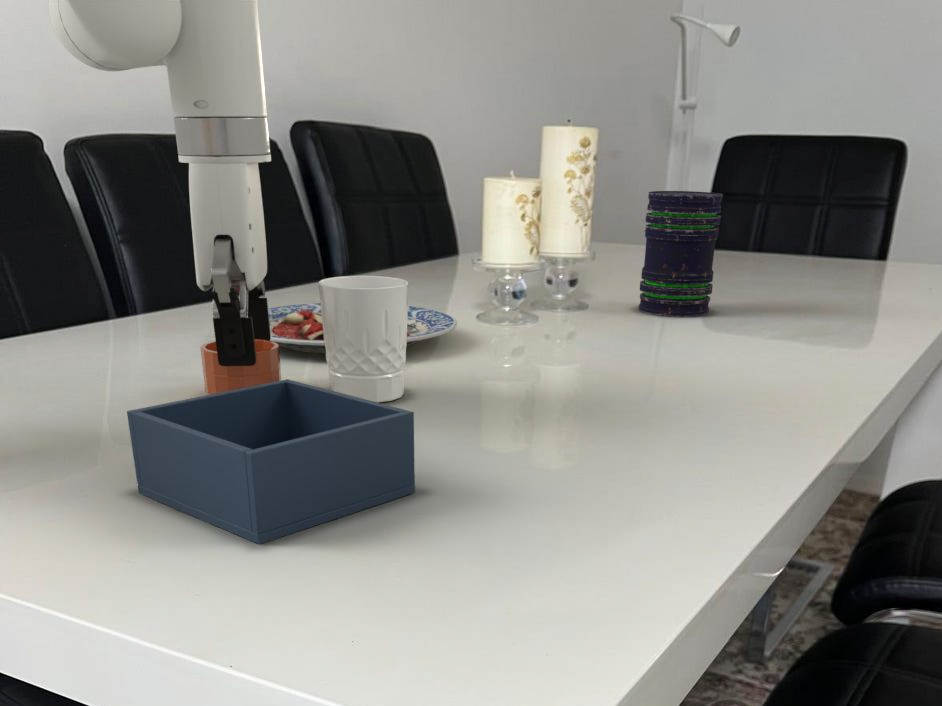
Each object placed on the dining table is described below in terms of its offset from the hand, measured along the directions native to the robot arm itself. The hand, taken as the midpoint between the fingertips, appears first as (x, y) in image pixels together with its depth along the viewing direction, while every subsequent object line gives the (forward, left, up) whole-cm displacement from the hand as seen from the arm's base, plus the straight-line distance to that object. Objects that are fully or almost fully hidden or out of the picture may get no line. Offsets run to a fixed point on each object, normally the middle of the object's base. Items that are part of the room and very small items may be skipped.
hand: (246, 353), depth 90 cm
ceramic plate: (-13, +23, -4) cm, 27 cm away
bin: (+24, -16, -4) cm, 29 cm away
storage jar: (+2, +70, -4) cm, 71 cm away
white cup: (+8, +7, -4) cm, 12 cm away
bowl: (0, -1, -4) cm, 4 cm away
